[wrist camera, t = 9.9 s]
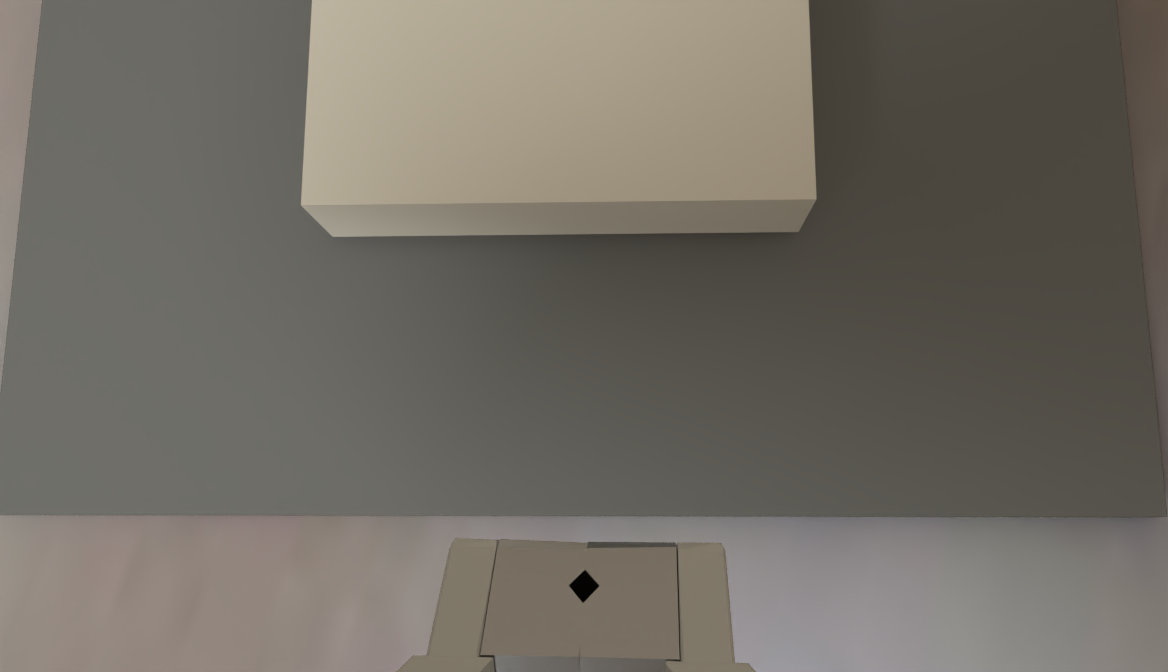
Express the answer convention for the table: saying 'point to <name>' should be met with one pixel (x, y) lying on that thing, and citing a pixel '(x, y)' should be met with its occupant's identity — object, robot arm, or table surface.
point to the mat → (584, 298)
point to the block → (558, 117)
